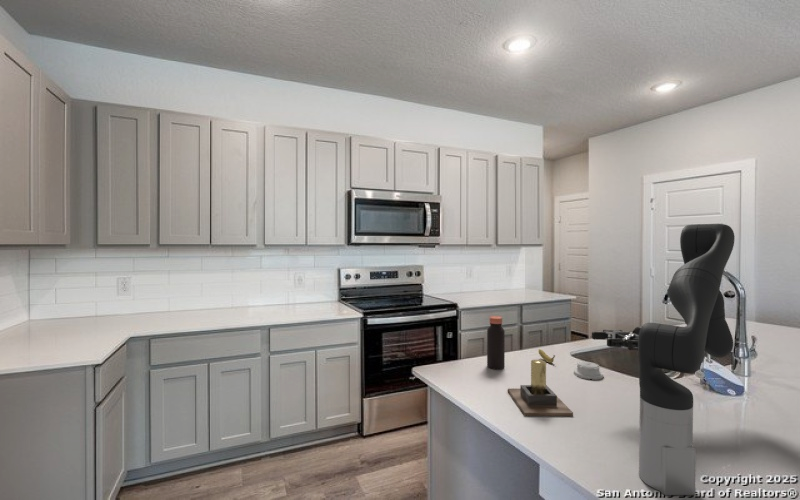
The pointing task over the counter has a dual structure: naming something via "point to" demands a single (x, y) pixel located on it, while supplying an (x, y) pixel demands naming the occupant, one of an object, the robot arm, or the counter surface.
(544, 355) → the banana
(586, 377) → the mechanical component
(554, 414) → the mounting plate
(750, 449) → the counter surface
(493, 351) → the bottle
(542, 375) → the post
